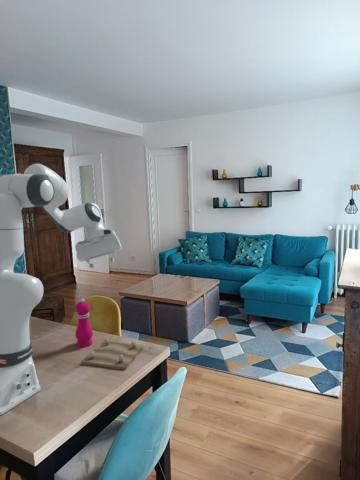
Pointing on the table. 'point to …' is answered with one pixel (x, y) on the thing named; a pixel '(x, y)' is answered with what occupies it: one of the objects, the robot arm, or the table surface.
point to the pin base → (113, 355)
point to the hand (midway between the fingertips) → (102, 265)
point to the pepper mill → (83, 324)
